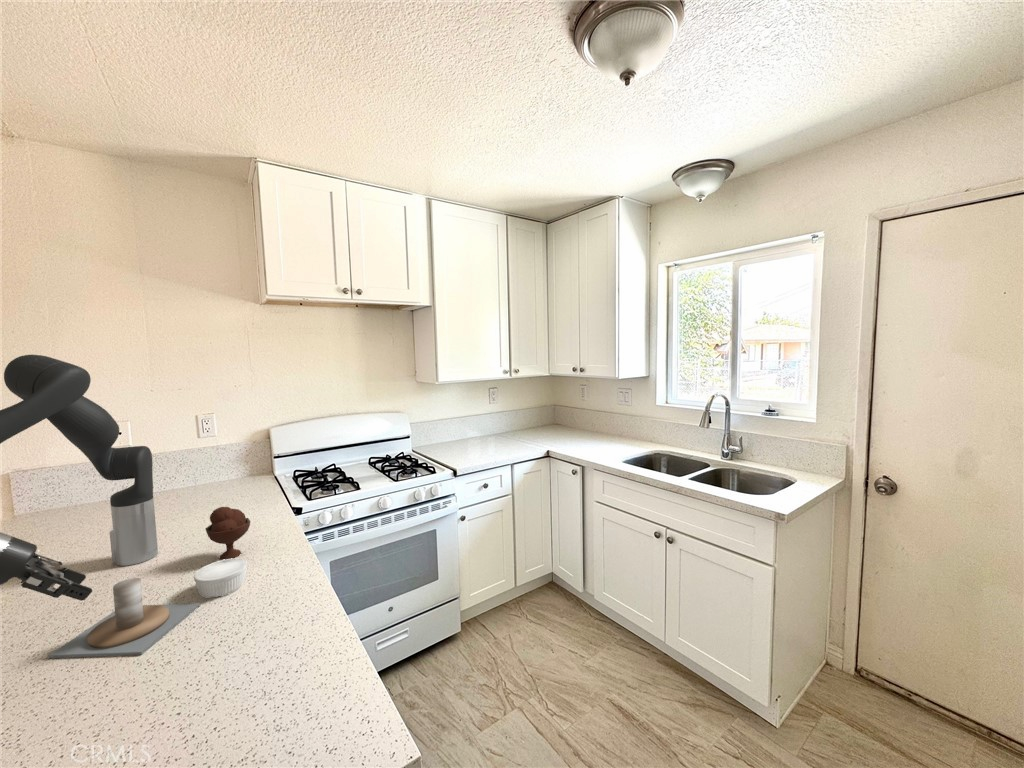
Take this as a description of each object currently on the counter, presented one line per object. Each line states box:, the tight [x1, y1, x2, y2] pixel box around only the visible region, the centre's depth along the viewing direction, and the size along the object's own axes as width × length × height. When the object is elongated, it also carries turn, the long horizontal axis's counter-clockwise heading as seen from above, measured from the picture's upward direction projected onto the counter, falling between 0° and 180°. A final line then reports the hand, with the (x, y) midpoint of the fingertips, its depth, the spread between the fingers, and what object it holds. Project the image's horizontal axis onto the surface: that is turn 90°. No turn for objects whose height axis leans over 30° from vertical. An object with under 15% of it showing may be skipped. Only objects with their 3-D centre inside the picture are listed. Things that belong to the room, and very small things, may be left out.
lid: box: [87, 577, 169, 648], centre depth 89 cm, size 13×13×10 cm
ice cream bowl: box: [204, 506, 251, 560], centre depth 122 cm, size 11×11×15 cm
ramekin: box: [193, 557, 249, 599], centre depth 105 cm, size 11×11×5 cm
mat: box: [47, 602, 201, 659], centre depth 90 cm, size 18×16×1 cm
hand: (85, 587), depth 84 cm, fingers open, 8 cm apart
